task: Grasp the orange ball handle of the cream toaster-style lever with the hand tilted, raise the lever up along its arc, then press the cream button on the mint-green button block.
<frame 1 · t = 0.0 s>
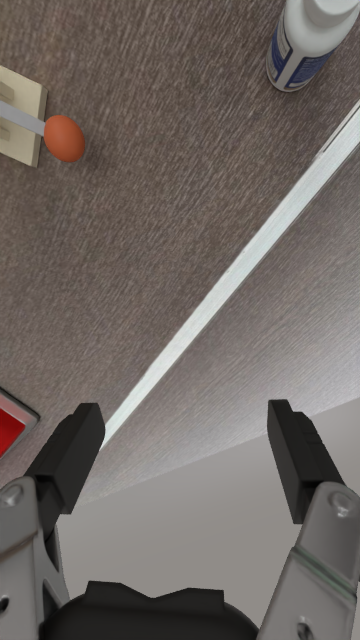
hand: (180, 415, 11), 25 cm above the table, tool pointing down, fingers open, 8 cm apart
bracket: (0, 112, 28), on the table
pill bottle: (291, 60, 25), on the table
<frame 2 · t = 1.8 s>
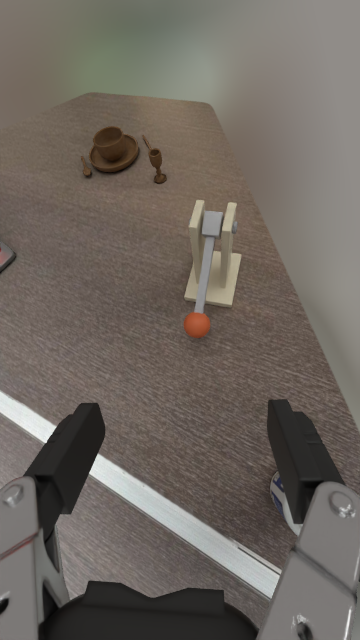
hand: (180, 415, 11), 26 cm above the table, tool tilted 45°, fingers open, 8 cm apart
lever: (204, 278, 32), point 10 cm above the table, hinge at -30.0°
bracket: (213, 278, 43), on the table
place setting: (121, 168, 57), on the table
pill bottle: (291, 491, 31), on the table
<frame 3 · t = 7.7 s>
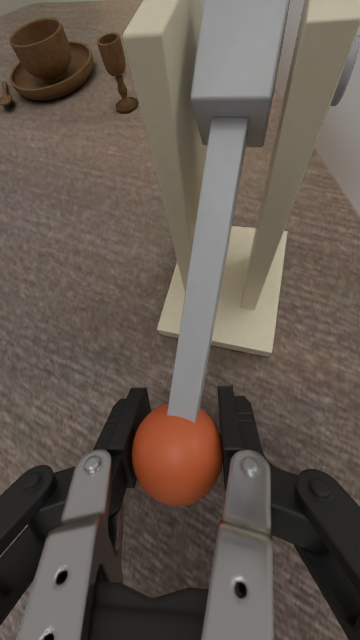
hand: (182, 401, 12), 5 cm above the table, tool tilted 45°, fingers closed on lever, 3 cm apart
lever: (203, 293, 9), point 10 cm above the table, hinge at -30.0°, touching gripper
bracket: (224, 286, 19), on the table
place setting: (65, 94, 34), on the table
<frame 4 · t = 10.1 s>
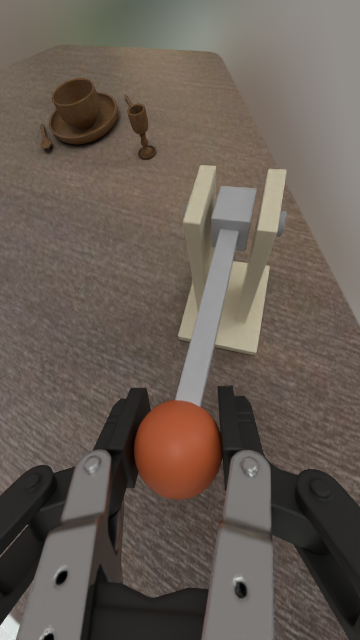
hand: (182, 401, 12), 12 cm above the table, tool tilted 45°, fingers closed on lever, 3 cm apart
lever: (210, 312, 13), point 14 cm above the table, hinge at 5.2°, touching gripper
bracket: (224, 304, 27), on the table
place setting: (94, 139, 41), on the table
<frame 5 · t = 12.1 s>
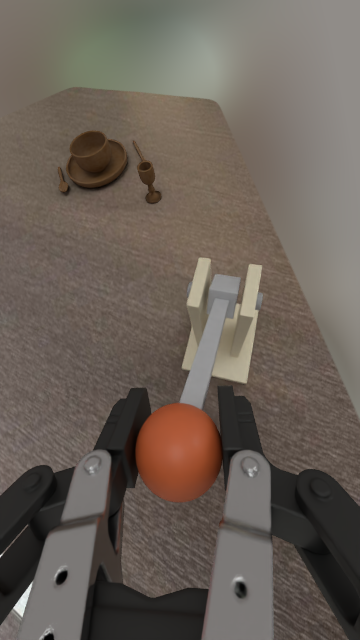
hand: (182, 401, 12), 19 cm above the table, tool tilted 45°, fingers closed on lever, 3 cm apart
lever: (208, 348, 15), point 17 cm above the table, hinge at 33.6°, touching gripper
bracket: (221, 339, 32), on the table
place setting: (106, 182, 46), on the table
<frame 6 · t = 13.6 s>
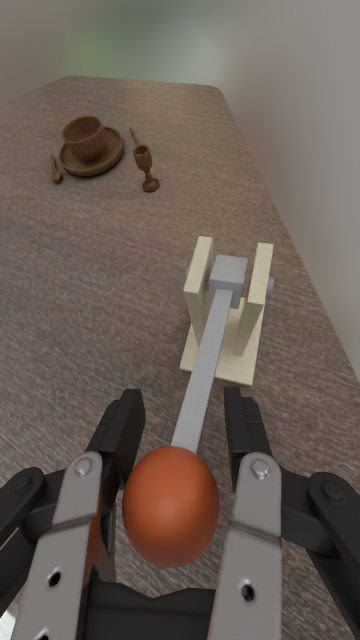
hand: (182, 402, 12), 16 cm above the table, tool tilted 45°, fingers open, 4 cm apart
lever: (207, 360, 13), point 15 cm above the table, hinge at 20.3°
bracket: (223, 336, 29), on the table
place setting: (101, 170, 44), on the table
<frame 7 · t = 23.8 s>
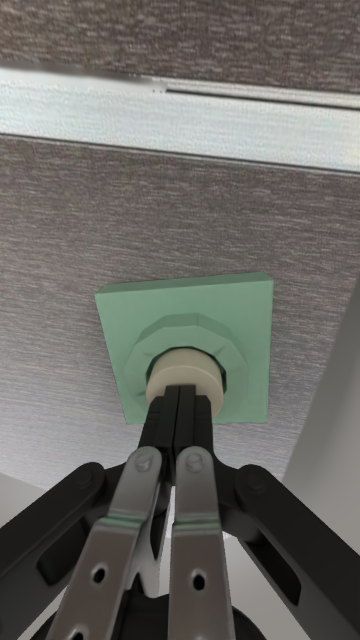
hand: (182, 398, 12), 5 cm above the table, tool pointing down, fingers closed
button: (185, 387, 13), point 4 cm above the table, slide at 0.1 cm, touching gripper
button block: (189, 346, 17), on the table
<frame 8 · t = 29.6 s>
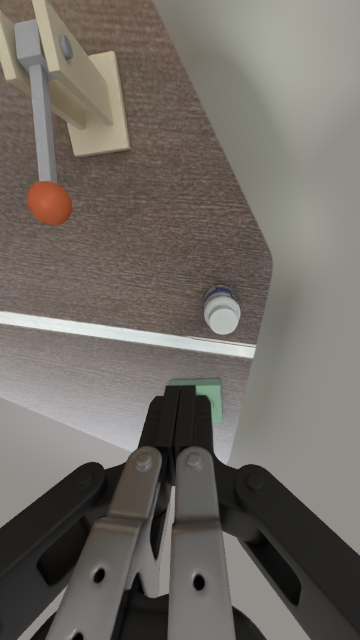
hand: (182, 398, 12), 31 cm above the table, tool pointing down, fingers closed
lever: (44, 131, 22), point 15 cm above the table, hinge at 20.3°
bracket: (96, 110, 33), on the table
button block: (196, 398, 52), on the table
pill bottle: (219, 299, 43), on the table
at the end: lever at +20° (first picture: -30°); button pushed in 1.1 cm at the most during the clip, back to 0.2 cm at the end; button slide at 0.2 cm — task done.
